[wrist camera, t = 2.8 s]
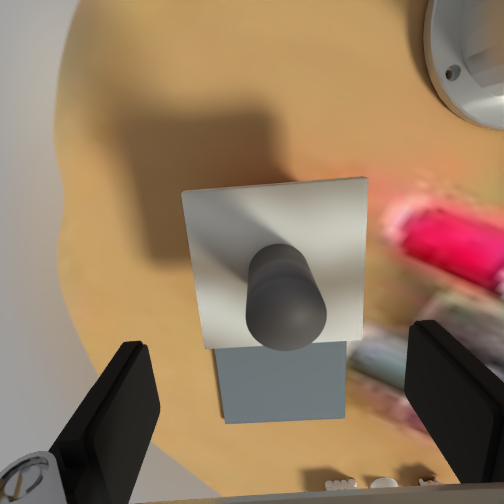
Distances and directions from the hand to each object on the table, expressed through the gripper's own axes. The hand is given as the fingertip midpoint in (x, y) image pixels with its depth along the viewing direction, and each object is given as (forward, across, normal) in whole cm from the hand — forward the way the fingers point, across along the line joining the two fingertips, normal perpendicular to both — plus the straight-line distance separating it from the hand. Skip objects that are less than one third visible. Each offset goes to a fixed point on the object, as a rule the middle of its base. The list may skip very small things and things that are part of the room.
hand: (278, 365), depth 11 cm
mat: (+13, -1, +11) cm, 17 cm away
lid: (+9, -1, 0) cm, 9 cm away
